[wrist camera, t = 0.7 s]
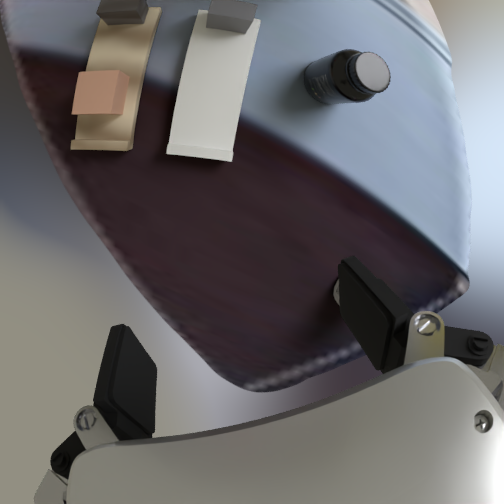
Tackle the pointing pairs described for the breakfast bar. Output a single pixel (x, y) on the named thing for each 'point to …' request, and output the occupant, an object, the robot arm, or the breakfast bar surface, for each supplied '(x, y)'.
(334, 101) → the supplement bottle
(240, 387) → the breakfast bar surface
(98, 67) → the birch strip
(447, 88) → the breakfast bar surface
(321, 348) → the breakfast bar surface
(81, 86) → the terracotta block
